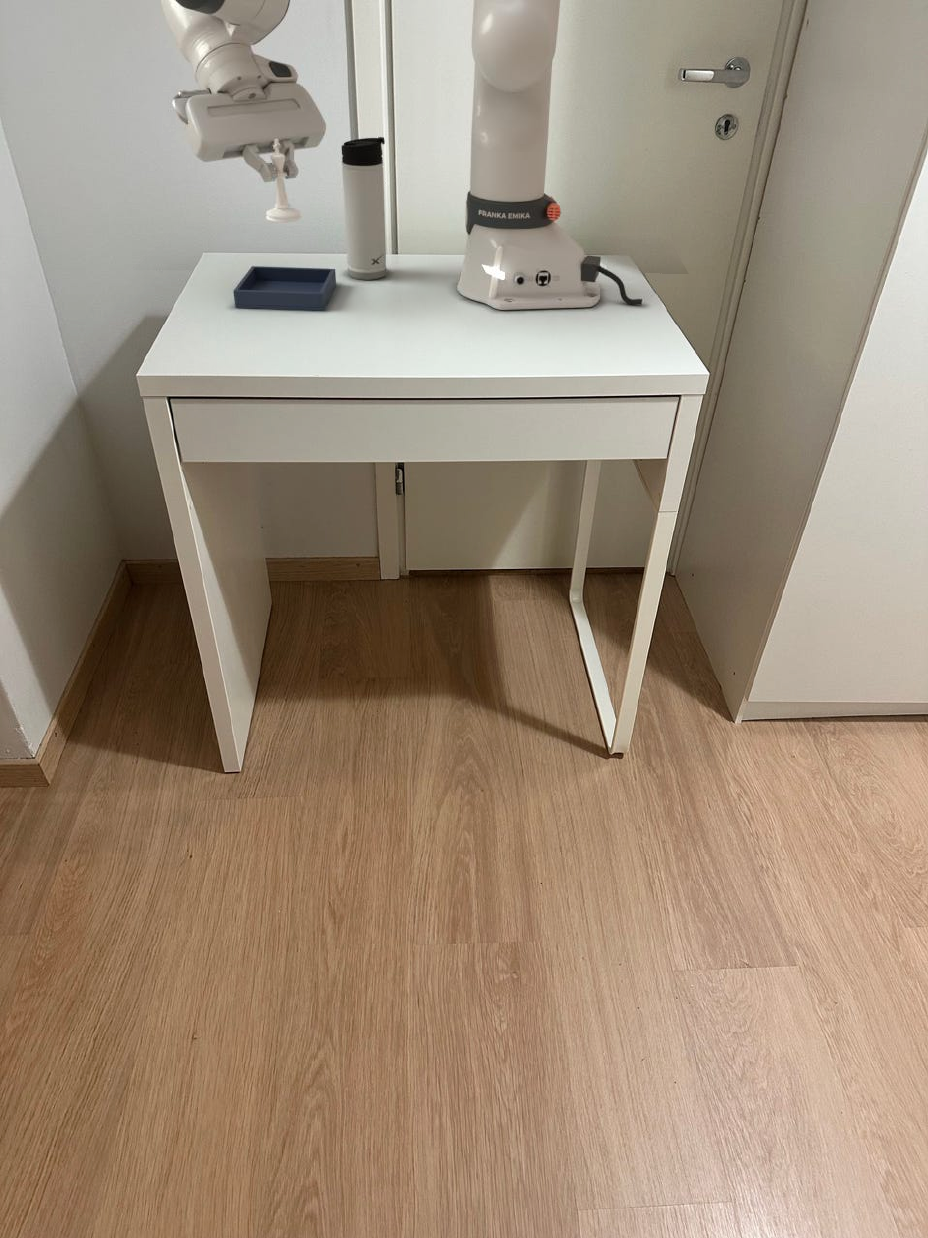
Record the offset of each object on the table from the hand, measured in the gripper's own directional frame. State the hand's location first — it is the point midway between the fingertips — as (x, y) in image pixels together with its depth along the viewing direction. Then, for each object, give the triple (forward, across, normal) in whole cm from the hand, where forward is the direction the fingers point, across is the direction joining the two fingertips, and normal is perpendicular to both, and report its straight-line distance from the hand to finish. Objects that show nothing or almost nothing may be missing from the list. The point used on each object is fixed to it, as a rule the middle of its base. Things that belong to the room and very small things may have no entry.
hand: (282, 177), depth 122 cm
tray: (+10, +1, +14) cm, 18 cm away
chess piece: (+4, 0, +4) cm, 6 cm away
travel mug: (+10, +17, +15) cm, 25 cm away
